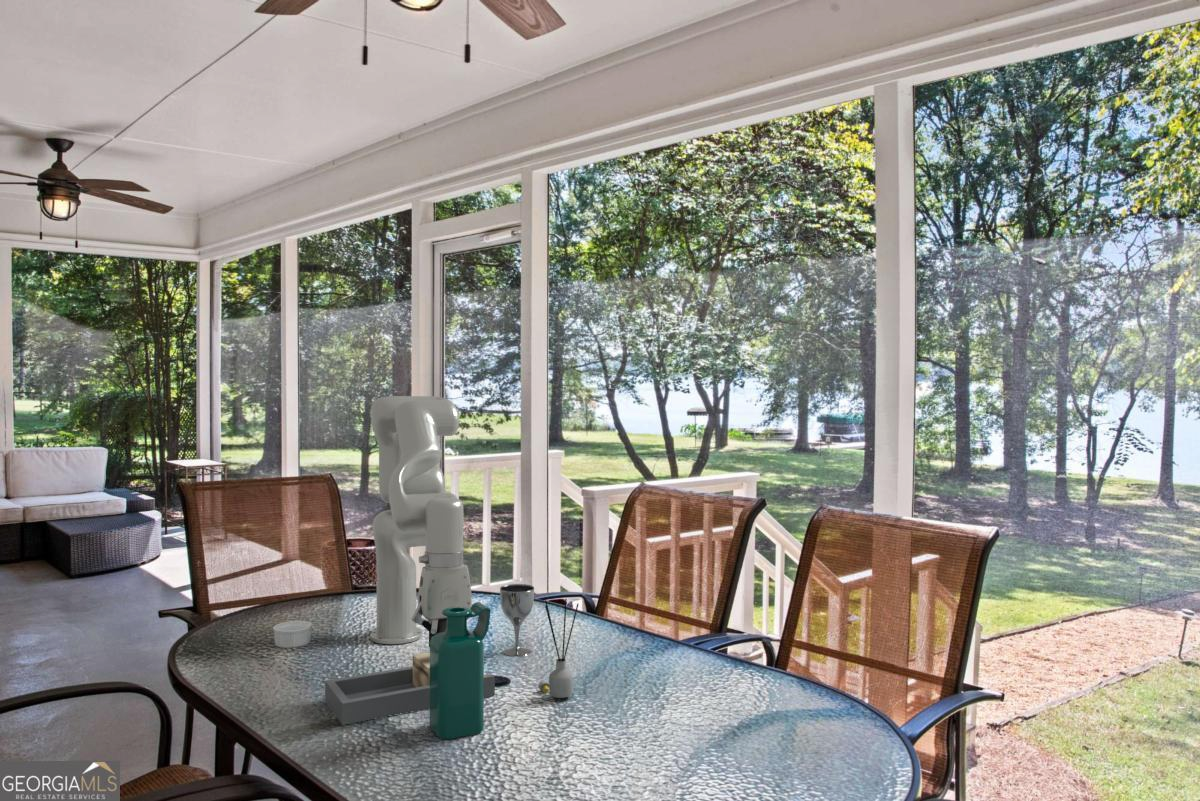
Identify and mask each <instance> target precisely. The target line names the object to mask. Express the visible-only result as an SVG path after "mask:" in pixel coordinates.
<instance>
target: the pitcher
mask: <svg viewBox="0 0 1200 801" xmlns="http://www.w3.org/2000/svg"><path fill="white" fill-rule="evenodd" d="M491 610H492V609H491V608H490V607H488V606H486V605H485V604H483V603H482V602H480V601H476V602H474V603H472V607H471V608H470V609H469V608H466V607H450V608H446V609H444V610H443V611H442V614H443V615H444V616H447V629H446V631H445V632H441V633H438V634H436V635H434V636H433V637H432V638H431V641H430V648H429V652H430V709H429V727H430V728H431V730H432V731H433V732H434V733H435V735H436V736H437V737H438V738H439V739H441V740H454V739H459V738H464V737H470V736H475V735H478V733H479V734H480V733H482V732H483V731H484V727H485V726H484V724H485V723H484V722H485V721H484V720H485V716H484V715H485V712H484V711H485V710H484V709H485V708H484V704H485V702H484V701H485V698H484V675H485V669H484V668H485V662H484V661H485V659H484V658H485V657H484V656H485V654H484V653H485V652H484V651H485V647H484V646H485V644H484V641H483V640H484V639H485V638H486V635H487V633H488V630H489V628H490V620H491ZM467 617H469V619H470V618H476V617H477V623H476V626H474V629H473V630H470V629H468V626H467V625H468V620H467Z"/></svg>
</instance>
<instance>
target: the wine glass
mask: <svg viewBox="0 0 1200 801" xmlns="http://www.w3.org/2000/svg"><path fill="white" fill-rule="evenodd" d="M499 598H500V599H499V600H500V606H501V609H502V610H501V611H502V612H503V614H504V616H505V617H506V618H507V619H508V621H510V623H511V624H512V626H513V630H514V638H515V639H514V640H515V644H514V646H513V647H507V649H506V648H504V649H502V650H503V651H502V650H501V654H502V653H503V654H502V655H504V654H505V655H504V656H506V655H510V656H509V657H514V656H517V657H524V656H523V655H525V656H528V655H527V654H529V655H531V654H532V653H533V650H532V649H531V648H529V647H524V646H520V645H519V644H520V638H519V637H520V631H521V626H522V624H523V623H524V622H525V620H526V619H527V618H528V616H529V615H530V613H531V612H532V610H533V606H534V599H535V586H533V585H531V584H526V583H525V584H524V583H512V584H504V585H502V586H500V587H499ZM531 650H532V651H531ZM531 652H532V653H531ZM530 653H531V654H530Z"/></svg>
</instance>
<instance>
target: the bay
mask: <svg viewBox="0 0 1200 801" xmlns="http://www.w3.org/2000/svg"><path fill="white" fill-rule="evenodd" d="M495 691H496V675H494V674H493V673H490V674H484V697H487V698H490V697H489V696H492V697H495V696H494V695H496V692H495ZM325 701H326V702H325ZM324 702H325V703H326V705H327V706H328V705H329V706H328V707H329V709H330V708H331V709H330V710H331V711H332V713H333V712H334V713H333V714H334V715H336V716H335V717H336V718H337V720H338V721H339V722H340V724H341V726H346V724H348V725H351V723H353V724H357V723H356V722H358V723H362V722H361V721H363V722H367V721H366V720H368V721H371V720H370V719H374V720H376V719H375V718H379V719H382V718H381V717H384V718H386V717H385V716H389V715H394V716H396V715H395V714H399V715H401V714H400V713H405V714H407V713H406V712H410V713H412V712H411V711H415V712H419V711H418V710H420V711H424V710H423V709H425V710H429V709H428V708H430V685H427V686H422V687H415V686H414V685H413V665H412V666H406V667H400V668H395V669H394V668H393V669H389V670H382V671H377V672H369V673H365V674H358V675H353V676H345V677H340V678H335V679H334V678H333V679H327V680H325V681H324ZM389 717H390V716H389Z"/></svg>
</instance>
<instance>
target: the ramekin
mask: <svg viewBox="0 0 1200 801" xmlns="http://www.w3.org/2000/svg"><path fill="white" fill-rule="evenodd" d="M312 627H313V623H312V622H310V621H308V620H290V621H284V622H280V623H277V624H275V625H273V627H272V631H273V635H274V636H273V637H274V644H275V645H276V647H278V648H282V647H283V649H288V648H290V649H291V648H292V647H293V648H299V647H302V646H306V645H308V644H309V643H310V642H311V636H312V635H311V633H312Z"/></svg>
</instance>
